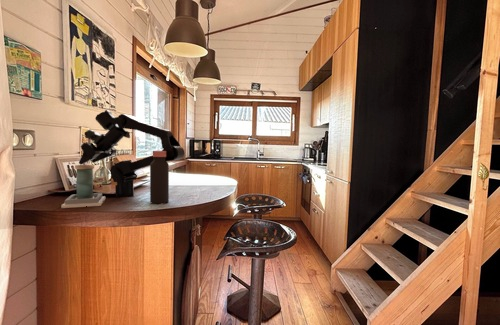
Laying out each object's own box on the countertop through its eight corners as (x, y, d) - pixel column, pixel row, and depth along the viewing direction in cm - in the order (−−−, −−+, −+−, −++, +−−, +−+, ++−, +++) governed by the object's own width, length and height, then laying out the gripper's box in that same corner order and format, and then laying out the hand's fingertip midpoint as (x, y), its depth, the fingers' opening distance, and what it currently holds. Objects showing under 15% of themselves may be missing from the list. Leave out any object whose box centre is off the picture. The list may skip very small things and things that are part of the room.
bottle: (149, 204, 96) (149, 151, 94) (151, 200, 102) (151, 150, 101) (168, 203, 97) (168, 151, 96) (168, 199, 104) (169, 150, 102)
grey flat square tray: (105, 198, 103) (105, 192, 103) (100, 205, 92) (100, 198, 92) (70, 200, 98) (70, 194, 98) (61, 208, 88) (61, 200, 88)
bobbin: (88, 197, 99) (88, 164, 98) (97, 200, 97) (97, 165, 96) (71, 200, 94) (71, 165, 93) (81, 202, 91) (80, 166, 90)
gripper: (109, 125, 118) (85, 148, 118) (85, 122, 99) (56, 150, 99) (127, 142, 119) (103, 166, 119) (106, 143, 100) (78, 170, 100)
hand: (86, 162), depth 109 cm, fingers open, 9 cm apart
